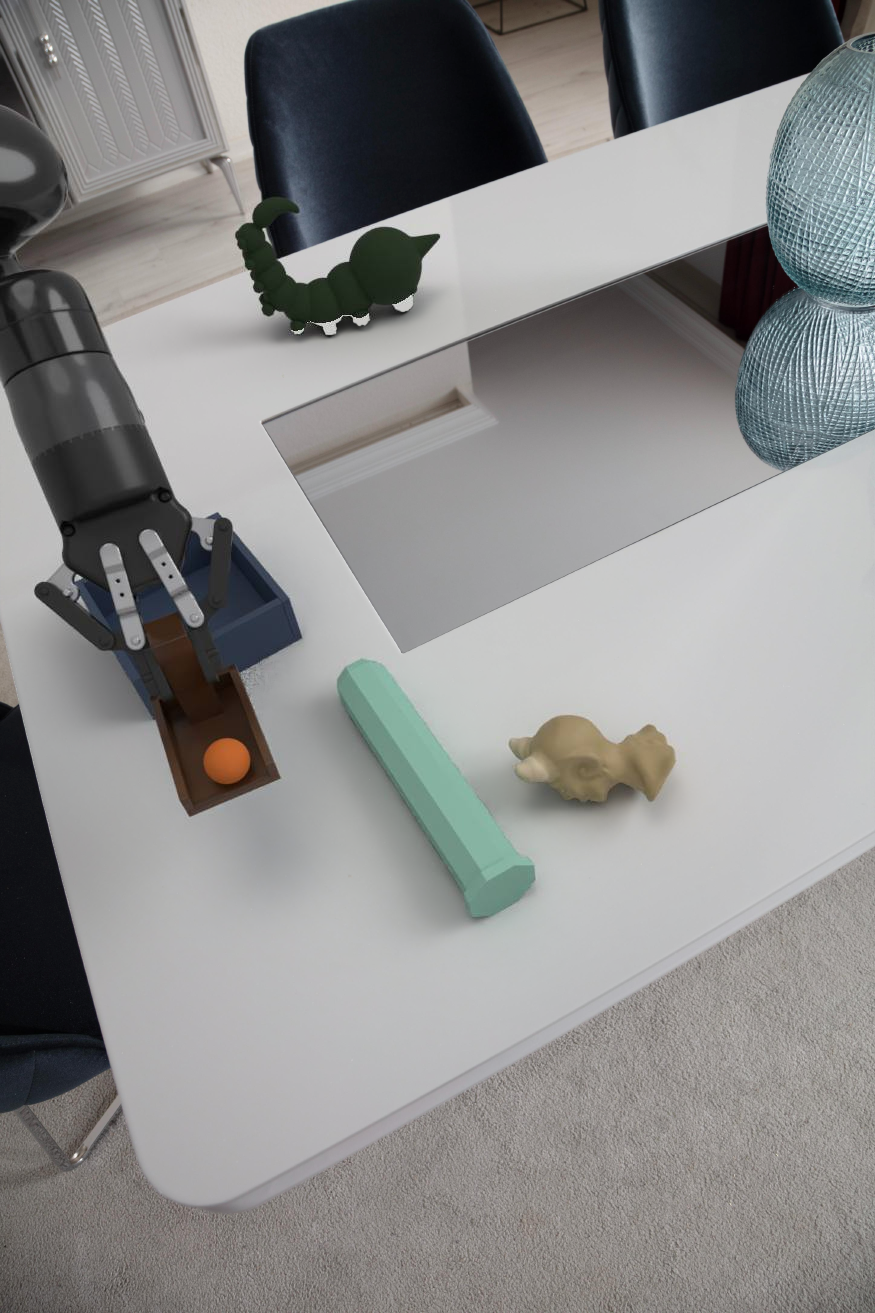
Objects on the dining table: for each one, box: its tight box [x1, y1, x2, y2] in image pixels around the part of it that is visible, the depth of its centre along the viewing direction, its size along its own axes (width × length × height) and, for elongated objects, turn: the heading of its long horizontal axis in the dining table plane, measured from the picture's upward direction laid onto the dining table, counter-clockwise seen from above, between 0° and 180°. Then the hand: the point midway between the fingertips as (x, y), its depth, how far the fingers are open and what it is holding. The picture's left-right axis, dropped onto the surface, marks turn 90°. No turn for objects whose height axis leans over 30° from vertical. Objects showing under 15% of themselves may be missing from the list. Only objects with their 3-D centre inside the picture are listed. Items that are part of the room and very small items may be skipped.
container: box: [336, 658, 536, 918], centre depth 75 cm, size 6×6×25 cm
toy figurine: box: [234, 196, 441, 331], centre depth 118 cm, size 9×19×25 cm
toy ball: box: [204, 738, 250, 784], centre depth 61 cm, size 3×3×3 cm
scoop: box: [143, 611, 282, 818], centre depth 61 cm, size 10×6×9 cm
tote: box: [75, 511, 303, 721], centre depth 89 cm, size 16×16×6 cm
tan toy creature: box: [508, 714, 677, 803], centre depth 73 cm, size 8×7×12 cm
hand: (192, 689), depth 61 cm, fingers closed on scoop, 2 cm apart
